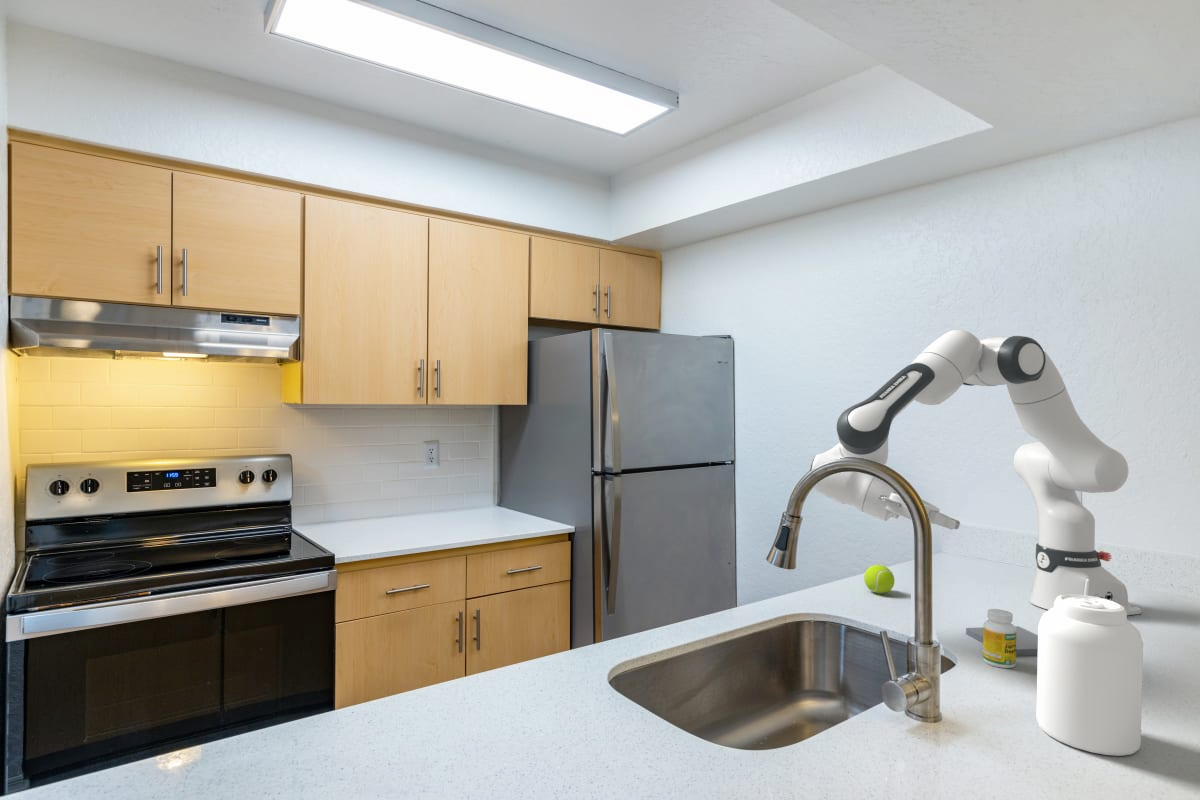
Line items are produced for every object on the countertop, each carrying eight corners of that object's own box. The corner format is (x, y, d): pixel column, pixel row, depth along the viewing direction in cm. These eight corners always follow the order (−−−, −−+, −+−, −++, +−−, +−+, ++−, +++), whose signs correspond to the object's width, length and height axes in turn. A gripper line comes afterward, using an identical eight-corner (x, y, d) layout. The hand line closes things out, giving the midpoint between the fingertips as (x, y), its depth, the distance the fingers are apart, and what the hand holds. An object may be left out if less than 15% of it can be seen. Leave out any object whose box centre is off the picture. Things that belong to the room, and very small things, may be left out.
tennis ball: (900, 596, 167) (900, 568, 167) (875, 598, 165) (875, 569, 165) (882, 588, 174) (882, 561, 174) (858, 589, 172) (858, 562, 172)
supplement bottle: (991, 655, 129) (992, 605, 129) (1021, 665, 125) (1022, 613, 125) (977, 661, 126) (977, 610, 126) (1007, 671, 122) (1008, 618, 122)
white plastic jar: (1147, 768, 91) (1151, 620, 90) (1036, 741, 97) (1039, 604, 97) (1134, 729, 101) (1137, 597, 101) (1035, 707, 108) (1038, 583, 108)
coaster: (1018, 631, 143) (1018, 626, 143) (1064, 653, 131) (1064, 647, 131) (966, 633, 141) (966, 627, 141) (1007, 656, 129) (1007, 649, 129)
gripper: (882, 480, 129) (959, 509, 122) (898, 486, 147) (966, 511, 139) (870, 511, 130) (946, 542, 122) (888, 513, 147) (955, 540, 139)
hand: (957, 525), depth 131 cm, fingers open, 8 cm apart
